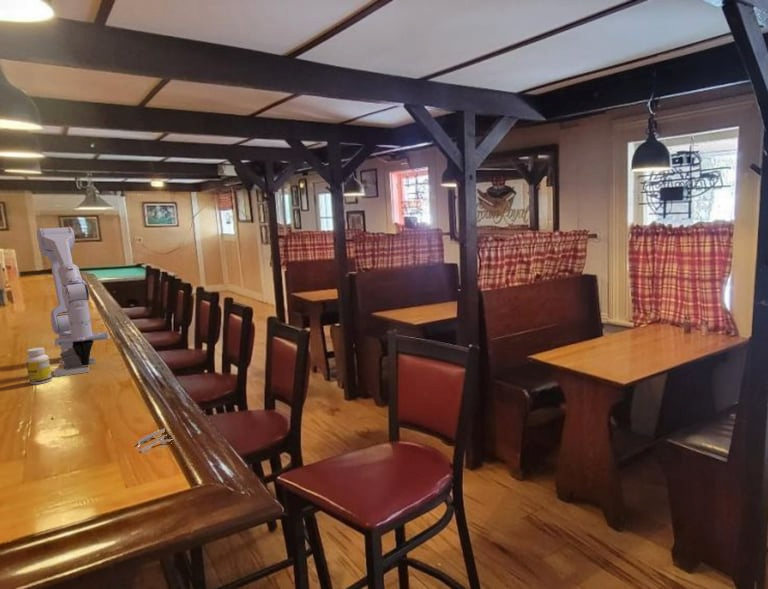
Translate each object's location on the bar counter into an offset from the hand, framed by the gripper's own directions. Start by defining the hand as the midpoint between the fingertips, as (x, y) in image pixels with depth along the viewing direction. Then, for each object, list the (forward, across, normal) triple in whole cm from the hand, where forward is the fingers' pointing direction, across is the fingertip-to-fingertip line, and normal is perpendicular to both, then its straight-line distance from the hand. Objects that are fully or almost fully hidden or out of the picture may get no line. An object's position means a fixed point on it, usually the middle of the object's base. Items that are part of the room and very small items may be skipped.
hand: (86, 364), depth 160 cm
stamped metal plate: (+2, +24, -73) cm, 77 cm away
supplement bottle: (+1, -10, -10) cm, 14 cm away
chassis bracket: (+1, -3, 0) cm, 3 cm away
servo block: (0, -3, 0) cm, 3 cm away
